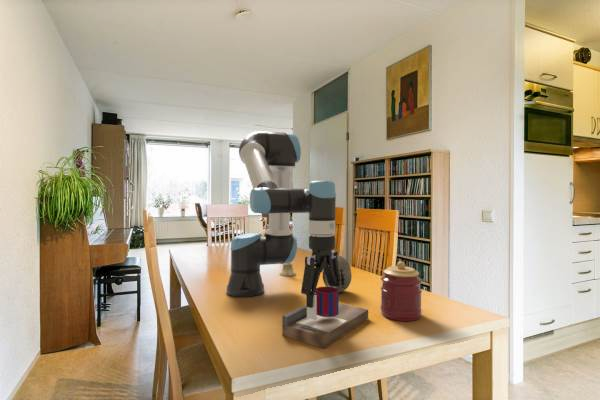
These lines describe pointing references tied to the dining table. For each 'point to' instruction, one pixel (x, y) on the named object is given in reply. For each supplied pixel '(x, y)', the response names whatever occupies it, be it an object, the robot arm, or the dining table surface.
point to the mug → (327, 301)
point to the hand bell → (287, 270)
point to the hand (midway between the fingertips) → (321, 313)
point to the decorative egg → (341, 274)
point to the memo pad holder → (322, 325)
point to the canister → (401, 293)
